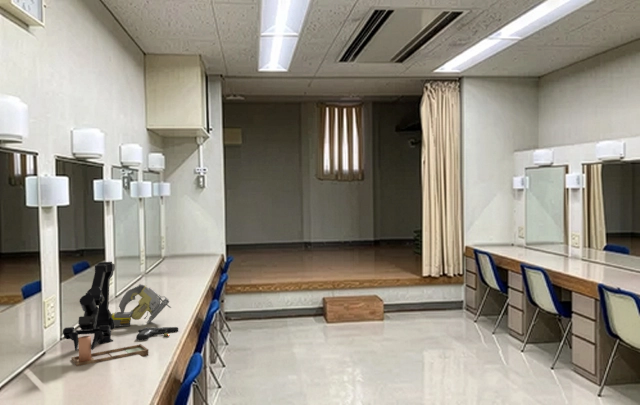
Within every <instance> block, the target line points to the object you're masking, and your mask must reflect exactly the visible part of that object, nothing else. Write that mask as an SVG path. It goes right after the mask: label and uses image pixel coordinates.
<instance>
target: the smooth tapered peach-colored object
mask: <svg viewBox="0 0 640 405" xmlns="http://www.w3.org/2000/svg"><path fill="white" fill-rule="evenodd" d="M78 341H79V343H78V356H79V362H86V361H91V354H92V349H91V347H92V336H91V335H85V336H84V335H83V336H78Z"/></svg>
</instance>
